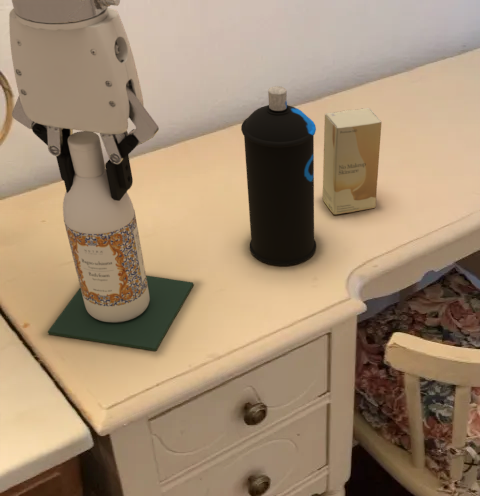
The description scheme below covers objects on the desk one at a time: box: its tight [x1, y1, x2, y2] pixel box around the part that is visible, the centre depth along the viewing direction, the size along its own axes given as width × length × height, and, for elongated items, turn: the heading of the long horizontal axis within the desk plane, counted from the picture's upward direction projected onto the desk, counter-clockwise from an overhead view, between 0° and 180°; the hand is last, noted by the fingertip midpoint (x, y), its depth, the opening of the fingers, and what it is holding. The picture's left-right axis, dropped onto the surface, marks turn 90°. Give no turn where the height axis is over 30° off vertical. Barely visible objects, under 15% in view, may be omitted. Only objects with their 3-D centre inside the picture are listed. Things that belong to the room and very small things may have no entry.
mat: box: [47, 274, 195, 352], centre depth 93 cm, size 12×12×1 cm
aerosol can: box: [240, 85, 317, 267], centre depth 96 cm, size 8×8×20 cm
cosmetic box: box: [322, 107, 382, 215], centre depth 107 cm, size 6×4×12 cm
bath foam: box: [62, 130, 150, 323], centre depth 86 cm, size 7×7×20 cm
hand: (99, 188), depth 82 cm, fingers closed on bath foam, 3 cm apart
